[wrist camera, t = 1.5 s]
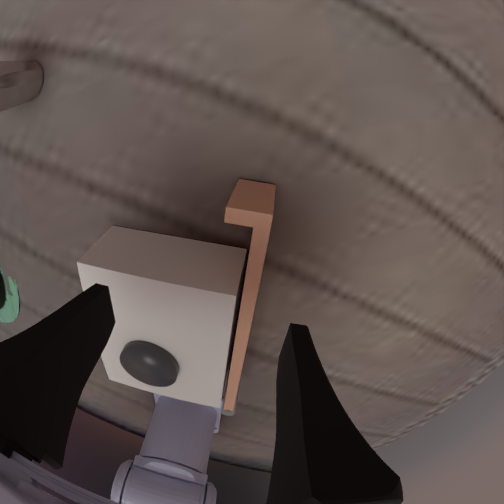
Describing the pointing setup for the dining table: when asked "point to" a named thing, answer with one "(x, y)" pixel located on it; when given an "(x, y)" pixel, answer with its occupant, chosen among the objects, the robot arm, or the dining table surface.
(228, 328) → the camera case
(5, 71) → the milkshake
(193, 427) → the robot arm
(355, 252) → the dining table surface
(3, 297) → the dark green fedora
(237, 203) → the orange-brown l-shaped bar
